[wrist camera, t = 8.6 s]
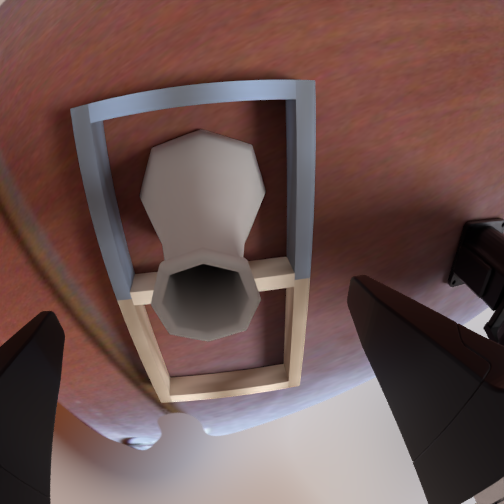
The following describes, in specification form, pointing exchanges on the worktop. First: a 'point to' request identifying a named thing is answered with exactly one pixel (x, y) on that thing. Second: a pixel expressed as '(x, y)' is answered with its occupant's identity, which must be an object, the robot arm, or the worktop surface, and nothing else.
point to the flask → (203, 233)
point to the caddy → (264, 271)
